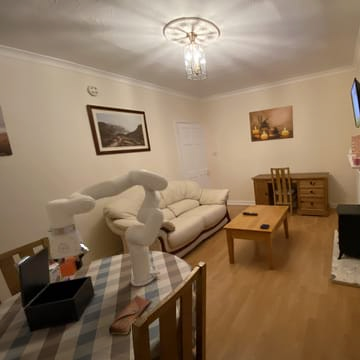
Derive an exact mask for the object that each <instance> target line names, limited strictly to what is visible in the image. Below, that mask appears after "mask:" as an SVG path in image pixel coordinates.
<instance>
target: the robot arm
mask: <svg viewBox="0 0 360 360" xmlns="http://www.w3.org/2000/svg"><path fill="white" fill-rule="evenodd" d="M136 186H140V187H142V189H143V191H144V198H143V201H142V202H141V205H140V208H139V209H138V211H137V213H136V221H137V222H138V223H139V224H133V225H130V226H129V227H128V228H127V229H126V230H125V233H124V238H125V239H124V240H125V242H126V245H127V249H128V252H129V258H130V265H131V271H132V277H131V279H130V284H131V286H133V287H142V286H145V285H148V284H150V283H151V282H152V281H154V280H155V278H156V276H157V275H161V270H159V269H158V268H157V269H154V267H153V266H152V262H151V255H150V249H149V247H150V246H152V245H153V244H154V242H155V241H156V239H157V237H158V235H159V232H160V230H161V228H162V225H163V223H164V220H165V215H164V212H163V210H162V209H160V208H159V205H160V203H161V193H160V192H163V191H165V190H166V189H167V188H168V186H169V181H168V179H167V177H166V176H164V175H163V174H162V175H161V174H158V173H155V172H153V171H151V170H147V169H143V168H131V169H128V170H125V171H124V172H121V173H120V174H117V175H115V176H113V177H110V178H109V179H105V180H103V181H100V182H98V183H95V184H93V185H89V186H86V187H84V188H81V189H80V190H77V191H75V192H73V193H71V194H70V195H68V196H67V197H66V198H59V199H54V200H50V201H48V202H46V204H45V209H46V214H47V217H48V221H49V225H50V228H47V232H48V233H51V234H50V235H49V253H50V254H48V259H49V260H51V261H54V263H56V262H57V263H58V264H59V265H61V264H62V263H63V262H64V261H65V260H66V259H67V258H68V257H72V256H74V257H75V259H76V262H75V263H76V268H77V272H78V271H80V270H81V269H82V268H83V266H84V263H83V264H82V262H83V257H84V256H86V255H87V254H88V253H89V252H90V249H89V248H88V247H86V246H85V244H84V240H83V237H82V235H81V233H80V231H79V229H77V227H76V224H75V217H74V215H81V214H86V213H90V212H91V211H93V210H94V209H95V207H96V201H98V200H101V199H105V198H112V197H116V196H119V195H121V194H122V193H124V192H126V191H128V190H130V189H132V188H133V187H136ZM140 224H143V225H140Z"/></svg>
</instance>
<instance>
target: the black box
mask: <svg viewBox="0 0 360 360" xmlns="http://www.w3.org/2000/svg"><path fill="white" fill-rule="evenodd" d="M95 295H96V294H95V290H94V286H93V279H92V276H91V275H89V276H88V275H87V276H83V277H77V278H70V280H65V281H60V282H54V283H49V284H48V285H47V286H46V287H45V288H44V289H43V290H42V291H41V292H40V293H39V294H38V295H37V296H36V297H35V298H34V299H33V300H32V301H31V302H30V303H29V304H28V305H27V306H26V307H25V308H23V311H24V314H25V319H26V322H27V323H26V324H27V327H28V330H29V332H36V331H39V330H44V329H48V328H52V327H56V326H57V327H58V326H61V325H66V324H67V325H68V324H71V323H75V322H79V321H80V319H81V318H82V316H83V314H84V313H85V311H86V310H87V308H88V306H89V305H90V303H91V302H92V300H93V298H94V297H95Z"/></svg>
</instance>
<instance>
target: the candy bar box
mask: <svg viewBox="0 0 360 360" xmlns="http://www.w3.org/2000/svg"><path fill="white" fill-rule="evenodd" d="M59 266H60V265H59V264H58V263H57V262H54V263H52V264H49V273H50V283H54V282H60V281H65V280H71V278H70V277H71V276H66V277H61V272H60V268H59Z"/></svg>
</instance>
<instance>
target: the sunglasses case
mask: <svg viewBox="0 0 360 360" xmlns="http://www.w3.org/2000/svg"><path fill="white" fill-rule="evenodd" d="M151 303H152V300H148V299H145V298H143V297H141V296H138V295H137V294H136V295H135V296H134V298H133V299H132V300H131V301H130V302H129V303H128V304H127V305H126V307H125V308H124V309H123V310H122V311H121V312H120V313H119V314H118V316H116V318H115V320H114V321H113V322H112V323H111V324H110V326H109V327H108V332H109V334H111V335H119V336H121V335H122V336H123V335H128V334H129V333H130V332H131V330H132V328H131V323H132V322H133V321H134V320H135V319H137V318H138V317H139V318H140V317H141V316H142V315H143V314H144V312H145V311H146V309H147V308H148V307H149V306H150V304H151ZM139 318H138V319H139Z"/></svg>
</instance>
